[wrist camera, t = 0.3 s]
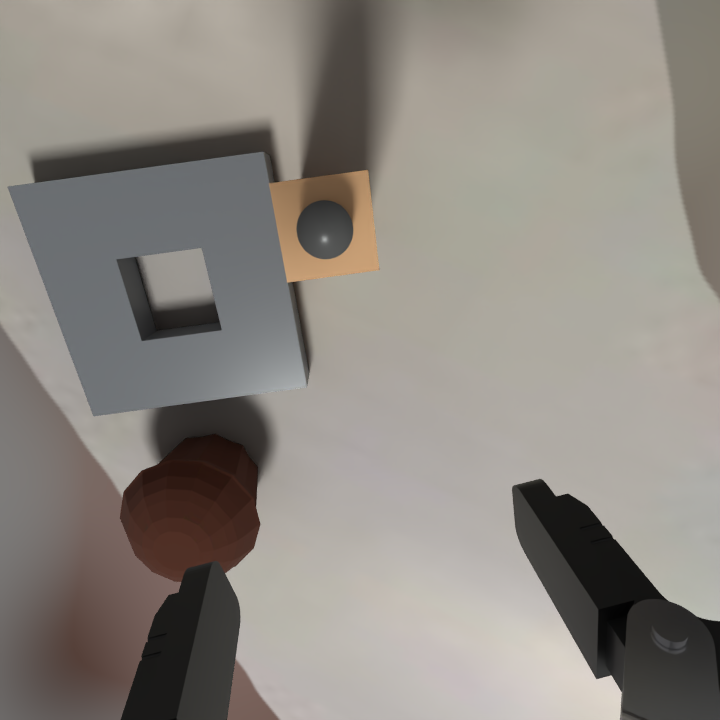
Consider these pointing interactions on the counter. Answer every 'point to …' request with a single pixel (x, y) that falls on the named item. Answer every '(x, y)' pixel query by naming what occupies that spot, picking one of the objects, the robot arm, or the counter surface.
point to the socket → (127, 295)
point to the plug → (325, 225)
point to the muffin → (193, 507)
